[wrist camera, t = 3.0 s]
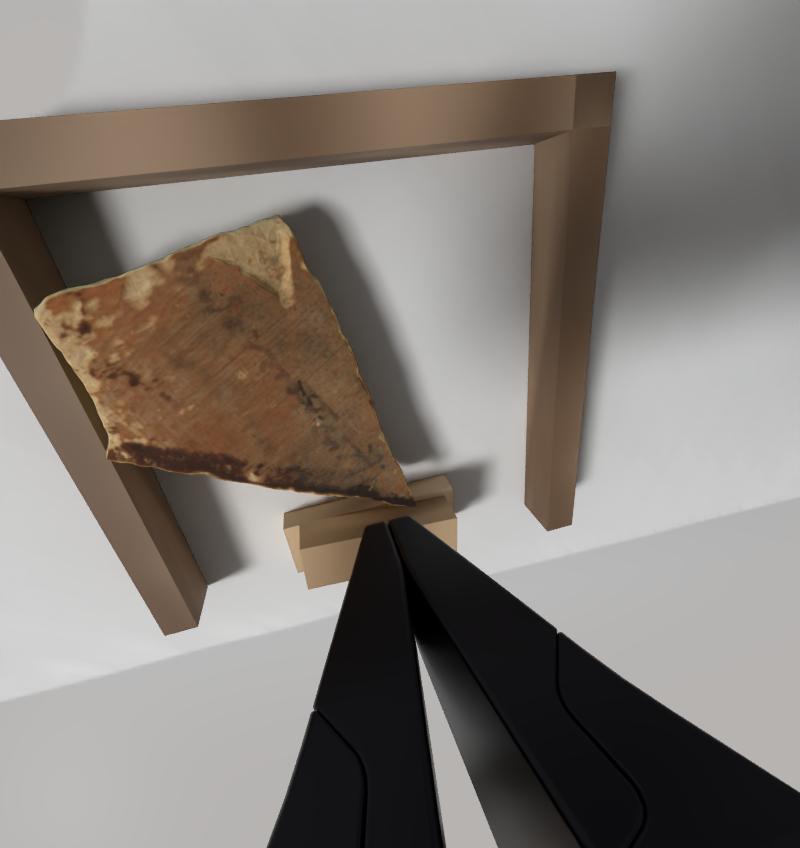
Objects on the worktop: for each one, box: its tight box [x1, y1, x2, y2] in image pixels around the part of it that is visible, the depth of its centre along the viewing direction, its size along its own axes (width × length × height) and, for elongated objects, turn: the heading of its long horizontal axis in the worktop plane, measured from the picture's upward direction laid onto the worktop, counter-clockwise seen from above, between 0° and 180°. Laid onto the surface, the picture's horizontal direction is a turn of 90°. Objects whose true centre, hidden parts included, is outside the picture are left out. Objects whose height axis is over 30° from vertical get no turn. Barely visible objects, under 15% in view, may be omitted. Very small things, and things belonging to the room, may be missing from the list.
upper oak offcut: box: [299, 496, 457, 589], centre depth 16 cm, size 6×2×2 cm, turn 93°
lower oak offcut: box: [283, 474, 454, 573], centre depth 17 cm, size 7×2×2 cm, turn 97°
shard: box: [34, 214, 417, 508], centre depth 13 cm, size 11×8×2 cm
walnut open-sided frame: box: [0, 71, 616, 636], centre depth 14 cm, size 17×16×2 cm
